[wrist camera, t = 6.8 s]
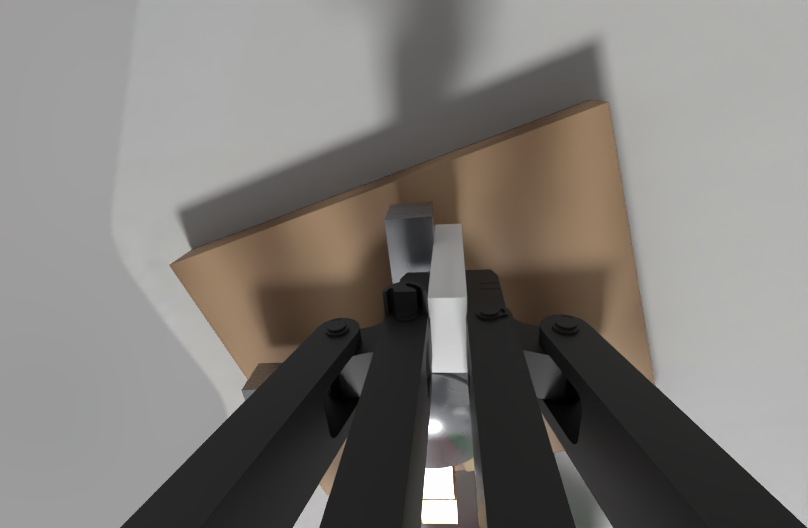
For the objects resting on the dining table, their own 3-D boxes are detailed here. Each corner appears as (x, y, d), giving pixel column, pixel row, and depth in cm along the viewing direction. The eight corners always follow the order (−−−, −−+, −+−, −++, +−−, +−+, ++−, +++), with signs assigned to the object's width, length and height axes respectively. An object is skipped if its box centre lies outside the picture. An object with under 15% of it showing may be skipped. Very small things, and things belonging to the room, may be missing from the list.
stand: (590, 99, 17) (614, 102, 15) (645, 406, 24) (668, 441, 22) (191, 250, 22) (161, 270, 20) (333, 469, 29) (324, 503, 27)
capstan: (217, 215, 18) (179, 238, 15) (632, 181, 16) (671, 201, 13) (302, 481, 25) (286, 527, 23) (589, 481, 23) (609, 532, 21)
